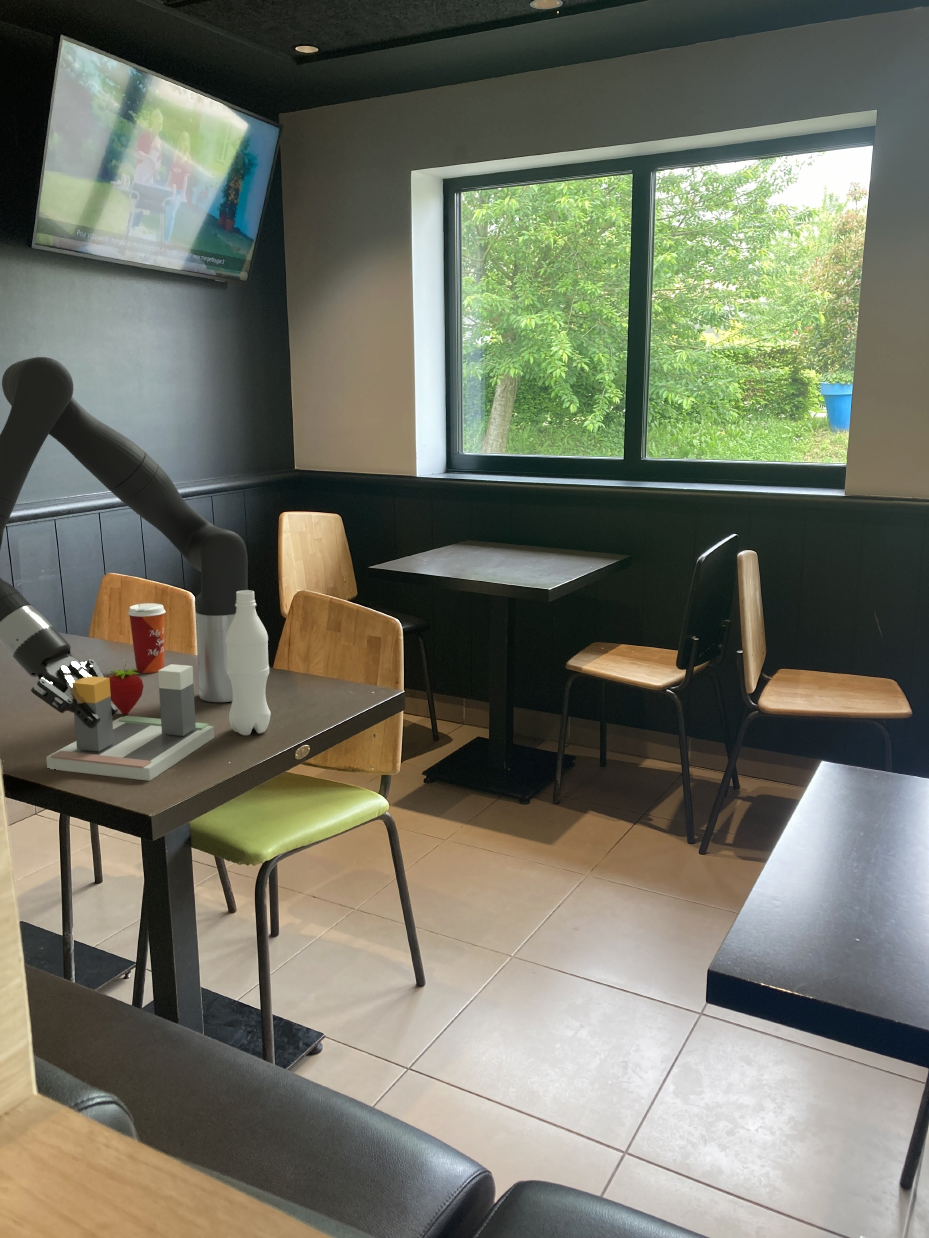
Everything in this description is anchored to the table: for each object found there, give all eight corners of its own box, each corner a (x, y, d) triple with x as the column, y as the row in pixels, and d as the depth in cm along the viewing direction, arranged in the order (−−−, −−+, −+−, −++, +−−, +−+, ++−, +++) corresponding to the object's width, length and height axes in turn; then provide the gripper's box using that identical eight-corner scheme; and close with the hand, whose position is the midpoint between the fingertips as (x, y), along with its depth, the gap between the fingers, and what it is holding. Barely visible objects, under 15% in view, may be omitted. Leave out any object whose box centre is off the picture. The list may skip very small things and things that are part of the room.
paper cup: (162, 675, 198) (158, 610, 195) (126, 674, 198) (121, 609, 195) (173, 665, 205) (170, 602, 202) (139, 664, 205) (135, 602, 202)
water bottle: (235, 740, 160) (229, 597, 155) (225, 727, 166) (219, 589, 161) (276, 733, 163) (271, 594, 158) (264, 721, 169) (260, 586, 164)
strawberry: (121, 706, 177) (118, 655, 175) (153, 712, 174) (149, 660, 172) (98, 715, 172) (94, 663, 169) (130, 721, 169) (126, 668, 166)
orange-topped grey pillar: (92, 740, 152) (87, 675, 150) (114, 743, 151) (109, 677, 149) (76, 749, 148) (71, 682, 146) (99, 751, 147) (94, 684, 145)
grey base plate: (122, 727, 165) (117, 654, 162) (214, 736, 161) (211, 662, 158) (46, 769, 146) (39, 687, 143) (149, 781, 142) (143, 697, 139)
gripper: (14, 635, 141) (91, 719, 140) (74, 616, 154) (144, 692, 154) (-13, 667, 143) (63, 749, 143) (48, 645, 156) (117, 720, 156)
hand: (104, 719), depth 148 cm, fingers closed on orange-topped grey pillar, 4 cm apart
